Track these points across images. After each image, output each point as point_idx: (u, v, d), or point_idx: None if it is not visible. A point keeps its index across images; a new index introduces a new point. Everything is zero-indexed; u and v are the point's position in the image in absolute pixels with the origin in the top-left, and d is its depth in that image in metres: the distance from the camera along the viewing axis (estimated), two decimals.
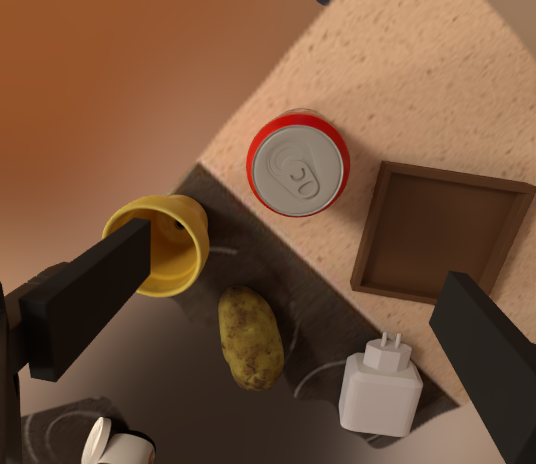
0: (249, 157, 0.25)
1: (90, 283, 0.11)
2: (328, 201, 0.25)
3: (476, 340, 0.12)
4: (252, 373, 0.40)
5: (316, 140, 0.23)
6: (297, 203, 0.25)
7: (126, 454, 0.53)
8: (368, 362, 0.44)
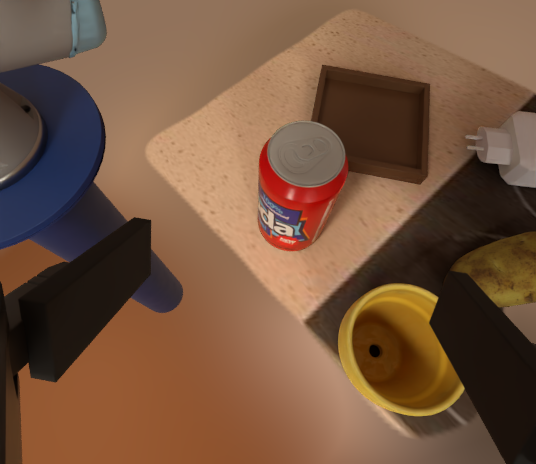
0: (294, 196, 0.28)
1: (90, 283, 0.11)
2: (330, 131, 0.29)
3: (476, 340, 0.12)
4: None
5: (280, 137, 0.29)
6: (333, 152, 0.28)
7: None
8: (507, 159, 0.43)
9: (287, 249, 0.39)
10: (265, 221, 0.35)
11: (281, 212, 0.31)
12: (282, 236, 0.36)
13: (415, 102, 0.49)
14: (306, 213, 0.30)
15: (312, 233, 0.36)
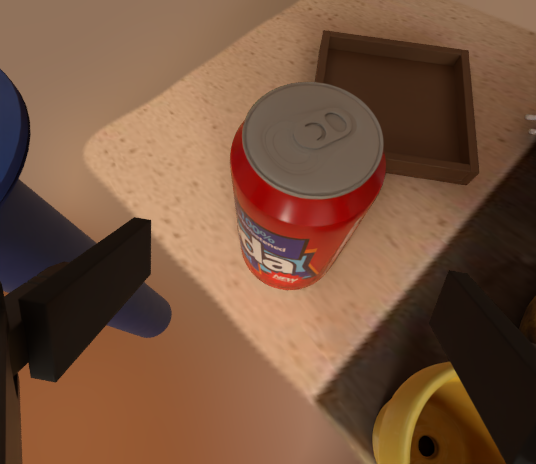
0: (293, 216, 0.15)
1: (90, 283, 0.11)
2: (353, 97, 0.17)
3: (476, 340, 0.12)
4: None
5: (264, 110, 0.16)
6: (361, 134, 0.16)
7: None
8: None
9: (285, 288, 0.26)
10: (249, 251, 0.23)
11: (272, 242, 0.18)
12: (277, 273, 0.23)
13: (449, 76, 0.37)
14: (316, 242, 0.17)
15: (323, 267, 0.23)
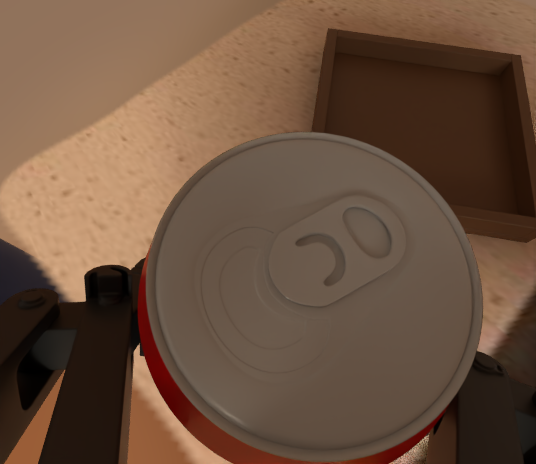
0: None
1: None
2: (403, 168, 0.08)
3: None
4: None
5: (205, 202, 0.07)
6: (428, 264, 0.07)
7: None
8: None
9: None
10: None
11: None
12: None
13: (495, 88, 0.28)
14: None
15: None
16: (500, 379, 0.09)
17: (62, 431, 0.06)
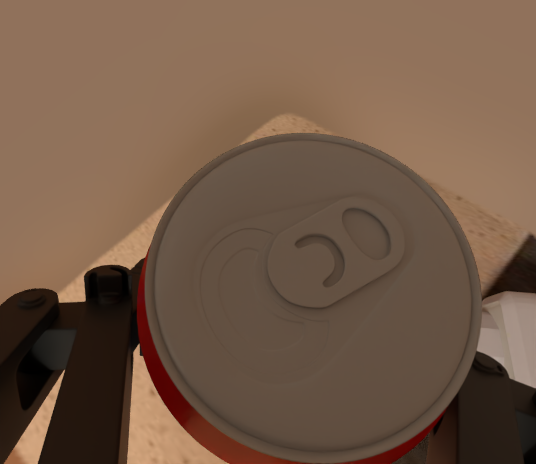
0: None
1: None
2: (402, 169, 0.08)
3: None
4: None
5: (204, 204, 0.07)
6: (427, 266, 0.07)
7: None
8: None
9: None
10: None
11: None
12: None
13: None
14: None
15: None
16: (500, 379, 0.09)
17: (62, 431, 0.06)
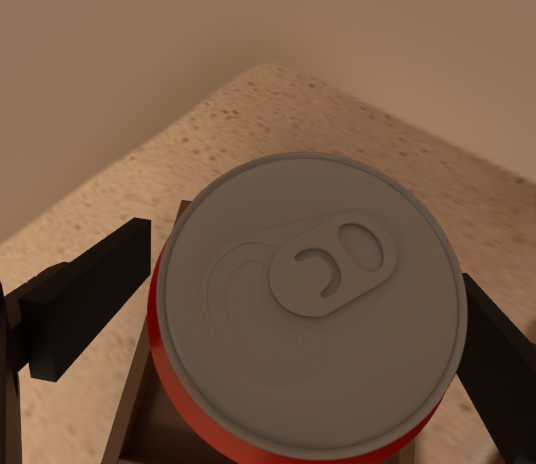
0: None
1: (90, 283, 0.11)
2: (395, 186, 0.08)
3: (476, 340, 0.12)
4: None
5: (210, 219, 0.08)
6: (417, 277, 0.07)
7: None
8: None
9: None
10: None
11: None
12: None
13: None
14: None
15: None
16: None
17: None
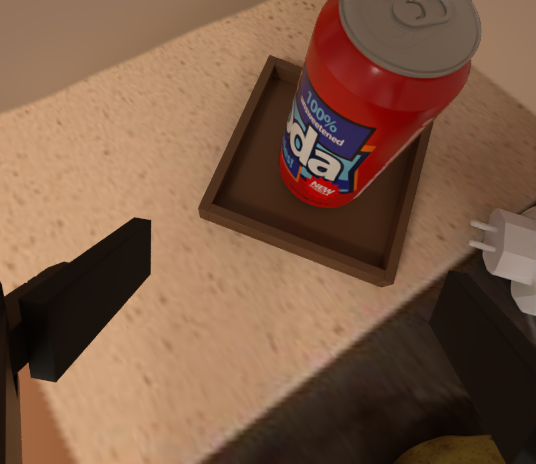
0: (373, 94, 0.15)
1: (90, 283, 0.11)
2: None
3: (476, 340, 0.12)
4: None
5: None
6: (460, 24, 0.15)
7: None
8: (529, 276, 0.26)
9: (316, 202, 0.26)
10: (295, 150, 0.23)
11: (333, 131, 0.18)
12: (317, 179, 0.23)
13: None
14: (380, 136, 0.17)
15: (364, 182, 0.23)
16: None
17: None
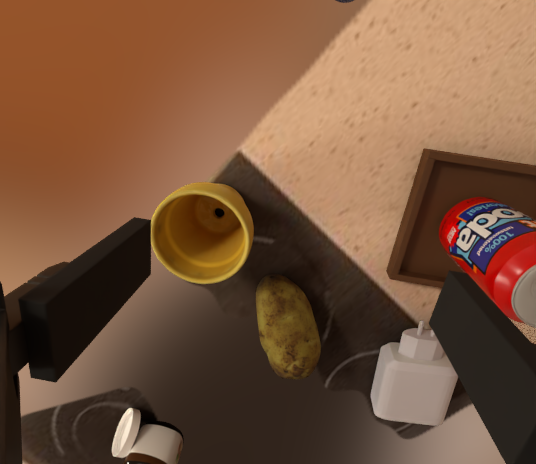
0: (503, 275, 0.27)
1: (90, 283, 0.11)
2: None
3: (476, 340, 0.12)
4: (292, 361, 0.41)
5: None
6: None
7: (157, 444, 0.53)
8: (403, 351, 0.45)
9: (441, 229, 0.39)
10: (477, 218, 0.34)
11: (485, 249, 0.30)
12: (457, 233, 0.35)
13: None
14: (481, 276, 0.30)
15: (456, 262, 0.36)
16: None
17: None
